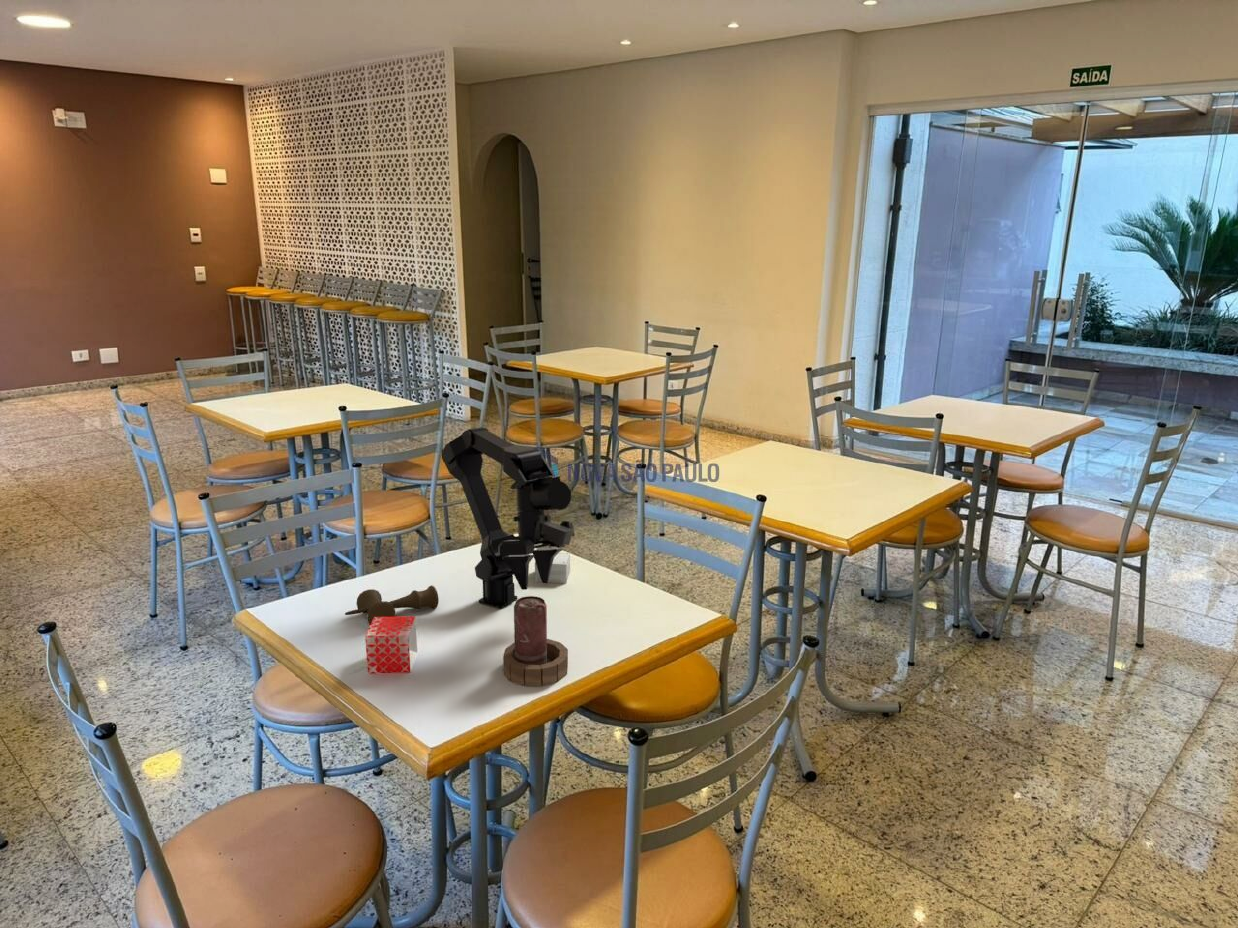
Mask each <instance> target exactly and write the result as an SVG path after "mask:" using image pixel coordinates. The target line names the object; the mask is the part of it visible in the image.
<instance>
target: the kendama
mask: <svg viewBox="0 0 1238 928" xmlns="http://www.w3.org/2000/svg"><path fill="white" fill-rule="evenodd" d="M382 598H383V597H382V594H381V593H380V591H379V590H377V589H366V590H363V591H362V592H360V593H359V595H358V596H357V598H356V602H355V603H356V607H357V609H353V610H349V611H346V612H345V613H344V615H346V616H352V615H357V614H365V615H366V620H367V624H368V625H369V626H370V625H371V623H372V621H373V619H374V617H396V609H405V608H406V609H410V608H411V609H414V610H415V611H418V610H420V609H421V608H425V607H429V608H432V609H437V608H438V606H439V594H438V590H437V589H436V587H435V586H434V585H430V586H428V587H427V588H426V589H424V590H423V589H422V590H419V591H418V590H416V589H415V590H412V591H411V593H410V594H409V593H408V594H407V595H405V596H403V597H399V598H397V599H393V600H392V601H391V600H390V601H384V600H383V599H382Z"/></svg>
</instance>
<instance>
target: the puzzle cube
mask: <svg viewBox="0 0 1238 928" xmlns="http://www.w3.org/2000/svg"><path fill="white" fill-rule="evenodd" d="M417 637H418V636H417V619H416V616H410V615H409V616H407V615H406V616H395V617H374V619H373V621H372V623H371V625H369V627H368V630H367V631H366V634H365V636H364V638H365V639H364V640H365V651H366V665H367V667H366V669H367V675H373V674H376V675H377V674H411V673H412V669H413V667H414V664H415V660H416V659H417V658H416V657H417V656H418V640H417Z"/></svg>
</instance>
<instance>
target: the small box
mask: <svg viewBox="0 0 1238 928" xmlns="http://www.w3.org/2000/svg"><path fill="white" fill-rule="evenodd" d="M570 574H571V553H570V552H559V553H558V554H557V555H556V556H555V557H554V560H553V563H552V567H551V571H550V575H549V580H548V583H550V584H553V583H554V584H568V583H567V582H568V579H569V576H570ZM534 582H536V583H542V581H541V578H540V575H539V572H538V569H537V565H536V562H535V561H534ZM548 583H547V584H548Z"/></svg>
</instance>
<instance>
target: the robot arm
mask: <svg viewBox="0 0 1238 928" xmlns="http://www.w3.org/2000/svg"><path fill="white" fill-rule="evenodd" d="M483 455H485V456H486V457H488V458H490V459H492V460H493V461H496V462H497V463H499V464H500V465H501V466H502V472H503V473H505V474H506V475H507V476H508V477H509V478H510V479H511V480H513V481H514V482H513V483H512V484H511V486H510V489H511V490H516V492H515V493H516V510H517V511H516V513H517V514H516V515H517V516H513V522H517V528H518V529H517V530H518V534H517V536H515V534H513V533H510V534H508V533H507V532H505V531H504V529H503V528H502V524H501V522H500V519H499V516H498V514H497V512H496V509H495V507H494V504H493V501H492V499H491V496H490V494H489V492H488V489H487V486H486V483H485V481H484V479H483V476H482V473H481V472H482V468H483V467H482V466H483V461H484V459H483ZM441 459H442V462H443V463H444V465H445V467H446V469H447V471H448V472H449V474H450V475H451V476H452V477H453V478H455V479H456V480H457V481H459V482H460V484H461V487H462V490H463V491H464V492H463V493H464V495H465V498H466V500H467V502H468V503H467V504H468V505H469V507H470V508H469V509H470V511H471V514H472V515H473V518H474V521H475V524H476V527H477V529H478V533H480V537H481V539H482V540H481V541H482V542H481V545H480V551H479V554H480V558H481V560H480V561H479V562H478V563H477V564H476V565H475V566H474V571H475V576H476V578H477V579H478V580H479V579H480V580H481V581H482V597H481V598H480V599H478V603H481V604H484V605H486V606H492V607H495V608H498V609H503V608H505V607H506V606H508V605H509V604H511V603H512V602H514V601H517V600H518V595H515V590H516V589H515V582H514V578H515V579H516V581H517V583H518V585H519V587H520V589H521V590H528V586H529V585H528V584H529V573H530V572H529V571H530V570H529V568H530V563H531V561H532V560H533V558H534V563H535V562H536V565H537V569H538V572H539V575H540V578H541V581H542V582H541V584H548V580H549V575H550V571H551V567H552V563H553V560H554V557H555V556H556V555H557V554H558V553H561V552H562V550H563V548H564V547H566V545H570V543H571V540H572V537H575V535H576V533H575V529H574V525H573V522H571V521H569V520H563V521H561V523H557V522H556V523H555V522H552V520H551V515H550V514H546V511H563V510H564V509H566V508H568V507H569V505H570V502H571V501H572V492H571V489H570V488H569V486H568V485H567V484H566V483H565V482H563V481H561V476H560V475H556V474H555V472H554V470H553V468H552V467H550V465H549V463H548V462H547V460H546V458H545V457H544V455H543V453H542V452H541V451H540V449H537V448H534V447H530V446H521V445H515V444H513V443H511V442H509V441H508V440H505V439H504V438H502V437H500V436H498V435H496V434H494V433H493V432H491V431H490V430H489V429H488V428H487V427H483V426H480V427H473V428H468V429H466V430H465V431H463V432H462V433H461V434H460V435H459V436H458V437H456V438H454V439H452V440H451V441H449V442H448V443H446V444H445V445H444V447H443V449H442V450H441ZM513 575H514V576H513Z"/></svg>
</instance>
